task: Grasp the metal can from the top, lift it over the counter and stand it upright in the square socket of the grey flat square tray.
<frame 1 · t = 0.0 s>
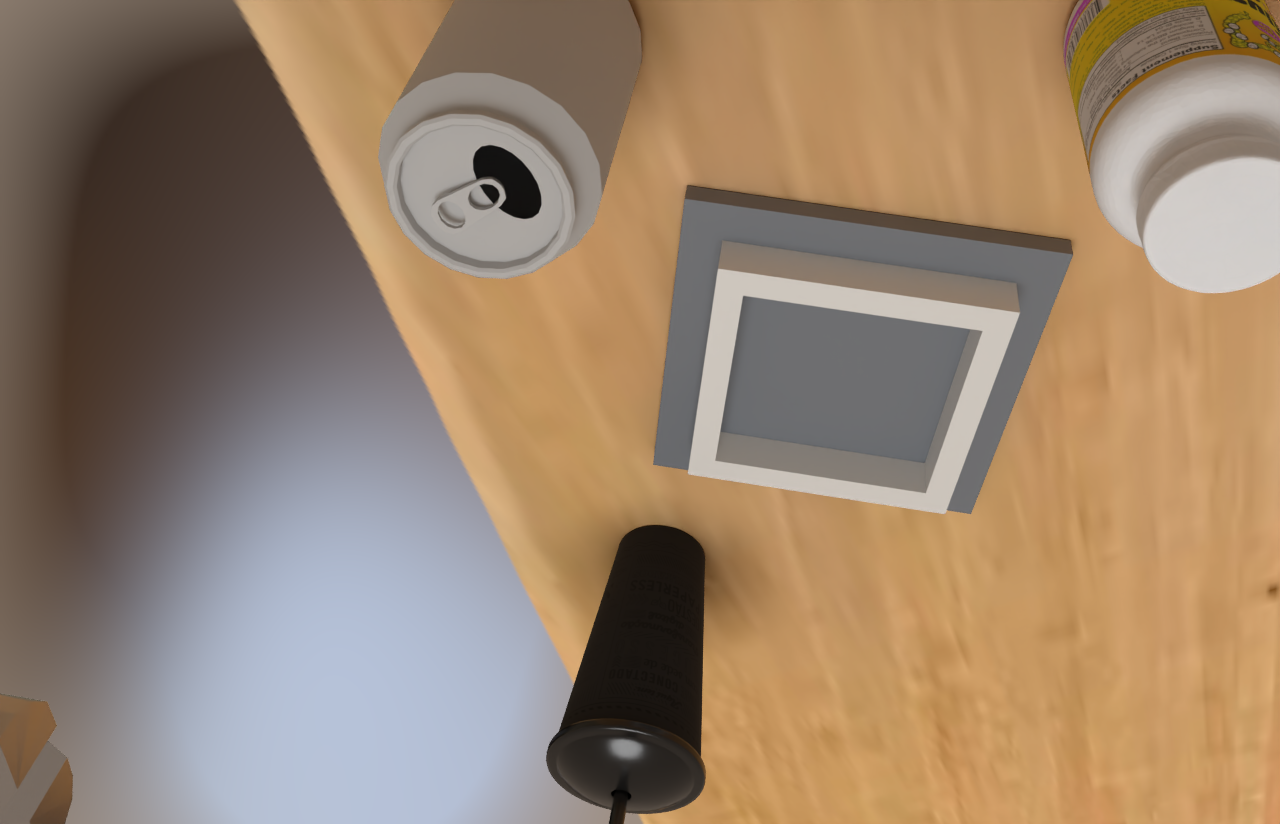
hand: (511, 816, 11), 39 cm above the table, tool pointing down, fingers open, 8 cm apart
grey flat square tray: (841, 356, 57), on the table
can: (551, 30, 48), on the table
drinking cup: (662, 550, 68), on the table
supplement bottle: (1156, 24, 44), on the table
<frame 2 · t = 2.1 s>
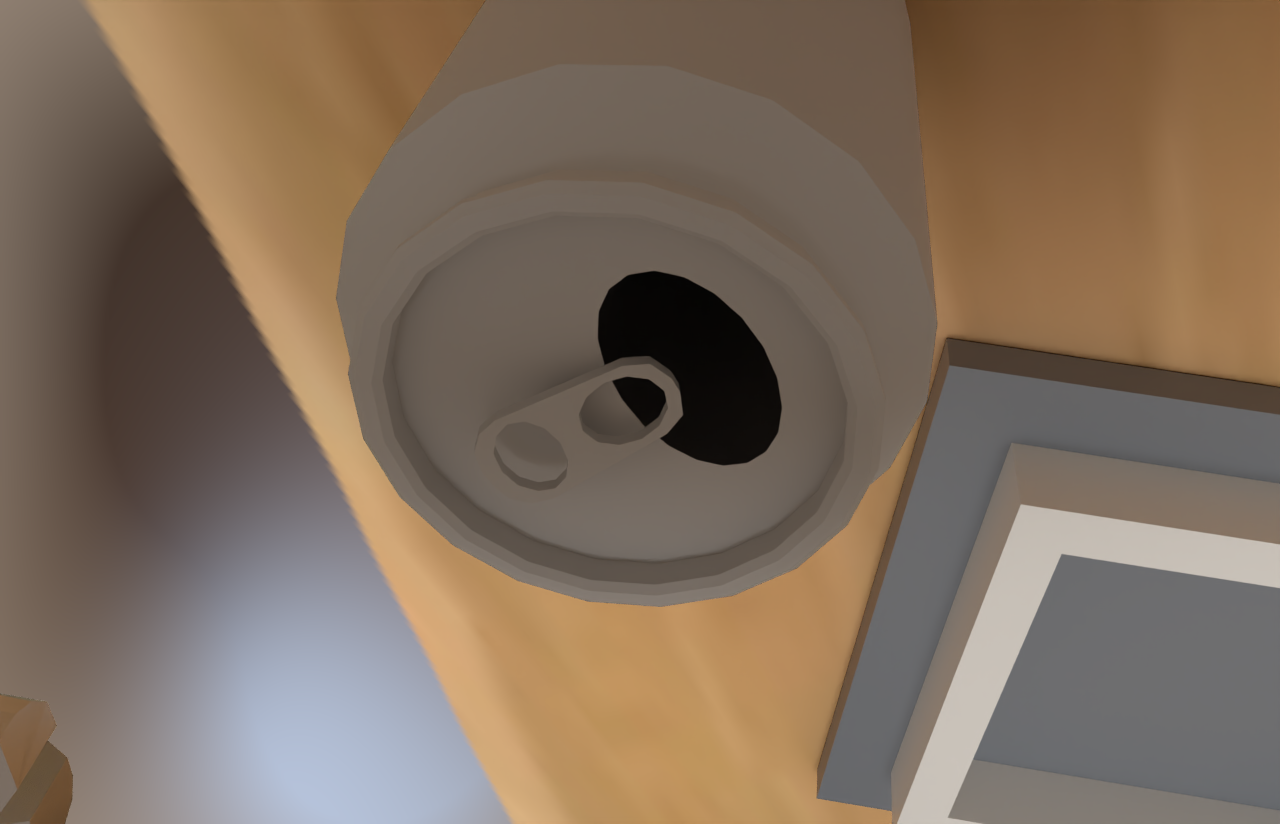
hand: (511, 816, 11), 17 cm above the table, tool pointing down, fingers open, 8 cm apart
grey flat square tray: (1184, 638, 31), on the table
can: (707, 30, 23), on the table
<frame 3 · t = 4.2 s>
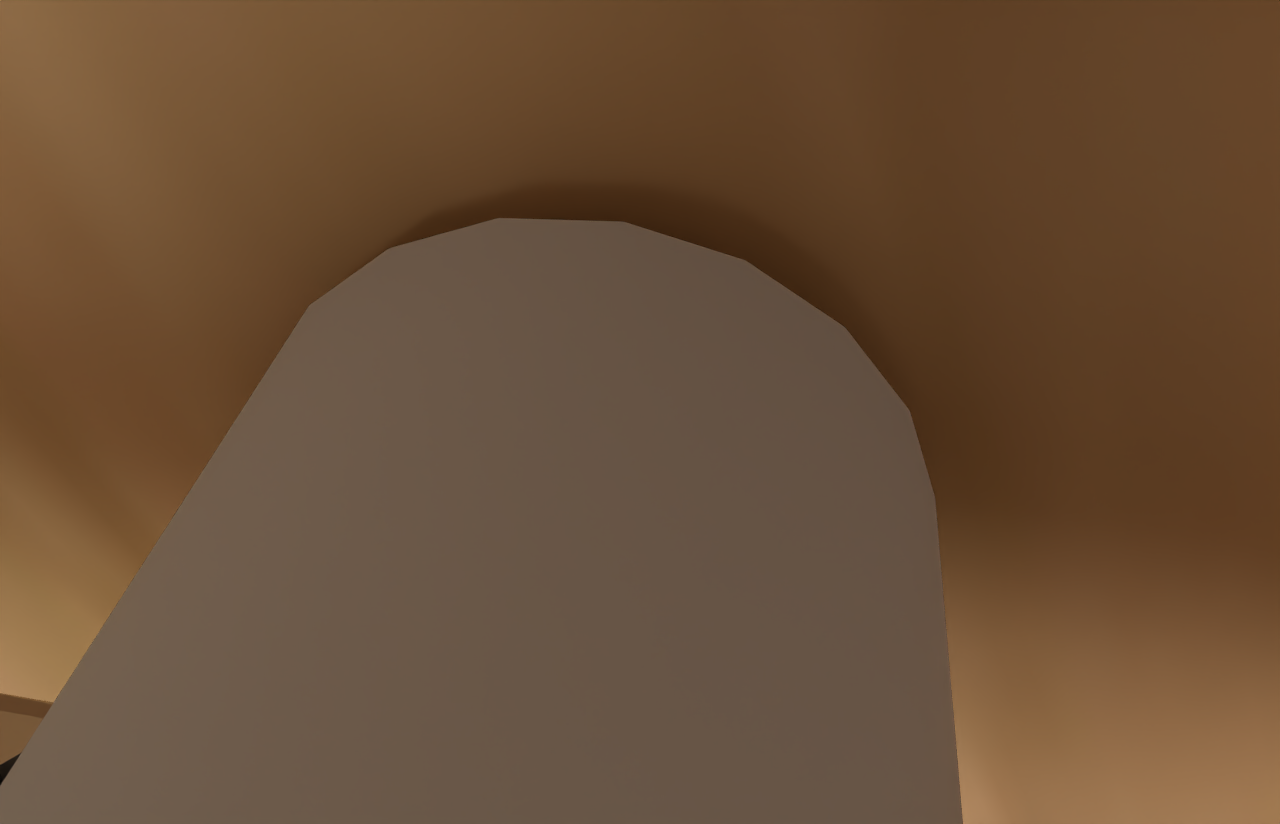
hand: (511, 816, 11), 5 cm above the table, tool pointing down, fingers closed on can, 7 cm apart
can: (602, 455, 14), on the table, touching gripper
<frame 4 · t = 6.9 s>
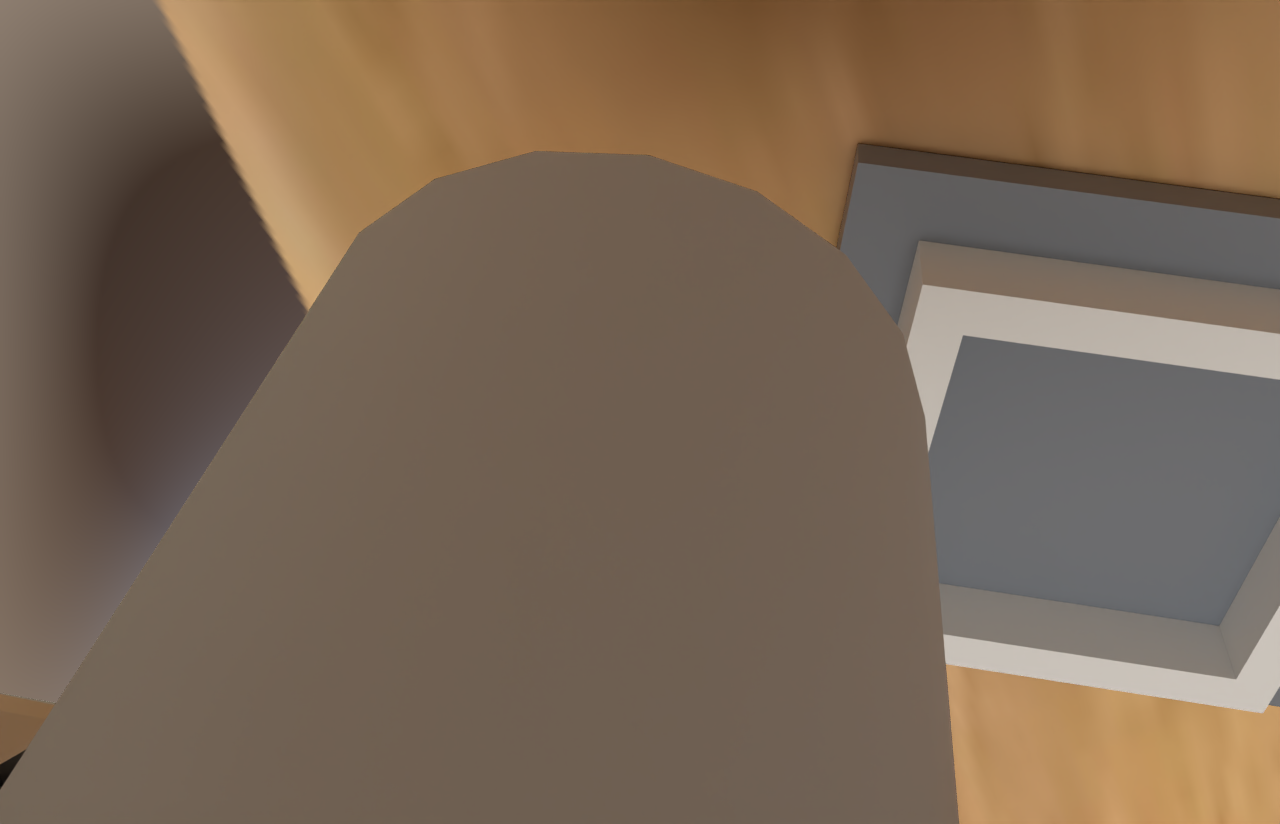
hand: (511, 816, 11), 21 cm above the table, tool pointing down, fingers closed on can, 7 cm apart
grey flat square tray: (1093, 448, 34), on the table
can: (619, 384, 16), point 15 cm above the table, touching gripper
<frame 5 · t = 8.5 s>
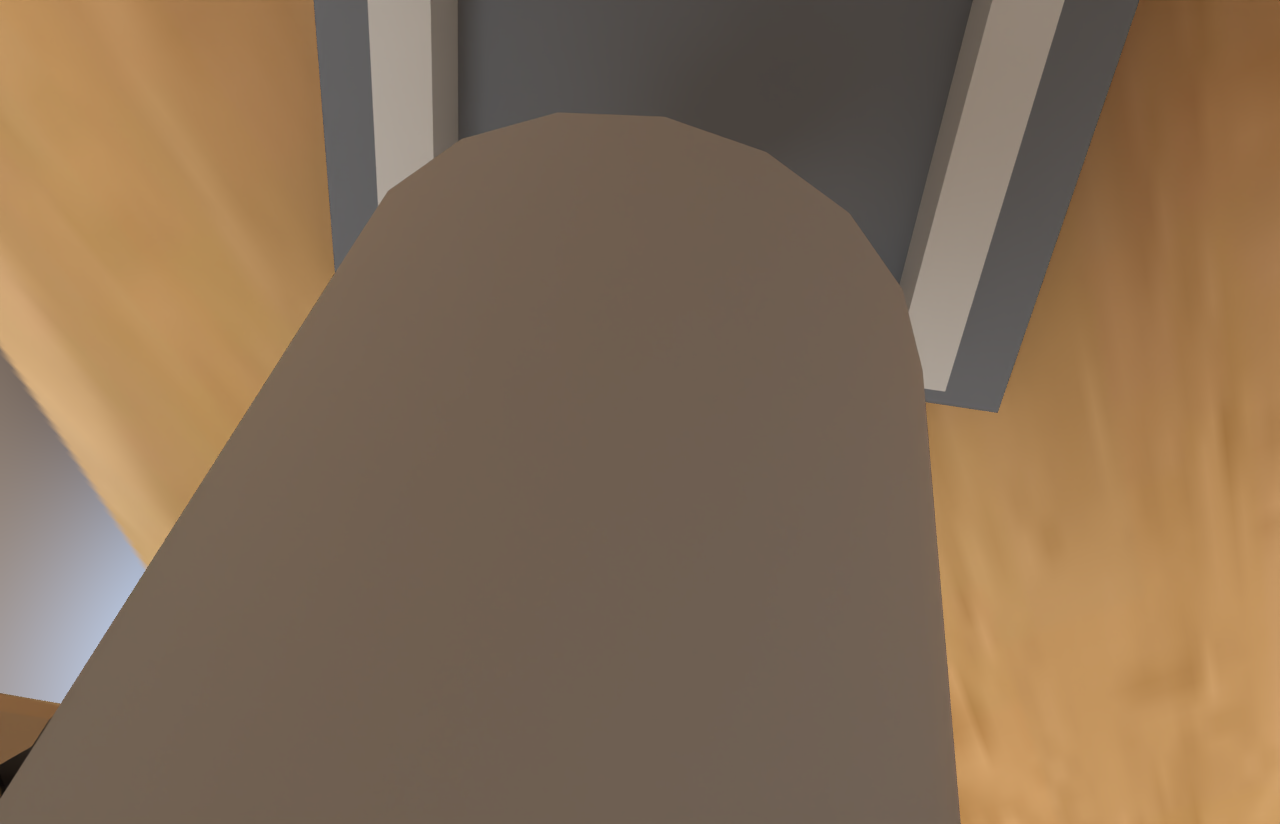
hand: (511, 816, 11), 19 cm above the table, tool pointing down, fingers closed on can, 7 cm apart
grey flat square tray: (707, 22, 25), on the table
can: (631, 341, 16), point 11 cm above the table, touching gripper
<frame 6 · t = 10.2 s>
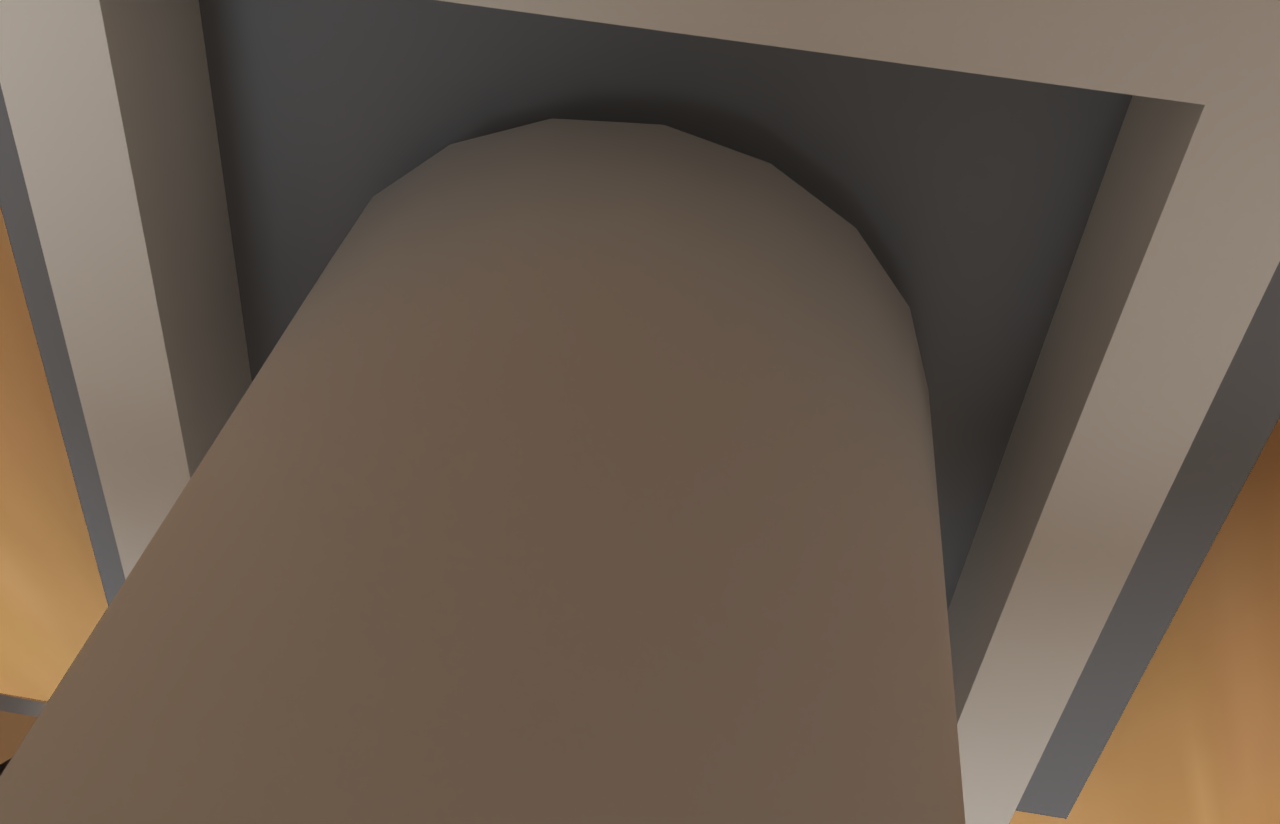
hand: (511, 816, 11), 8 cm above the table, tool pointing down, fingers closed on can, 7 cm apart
grey flat square tray: (633, 310, 16), on the table
can: (625, 353, 16), point 1 cm above the table, touching grey flat square tray, gripper
when the fingers open (7 cm above the table, at t = 11.3 s): can stays where it is, resting on grey flat square tray.
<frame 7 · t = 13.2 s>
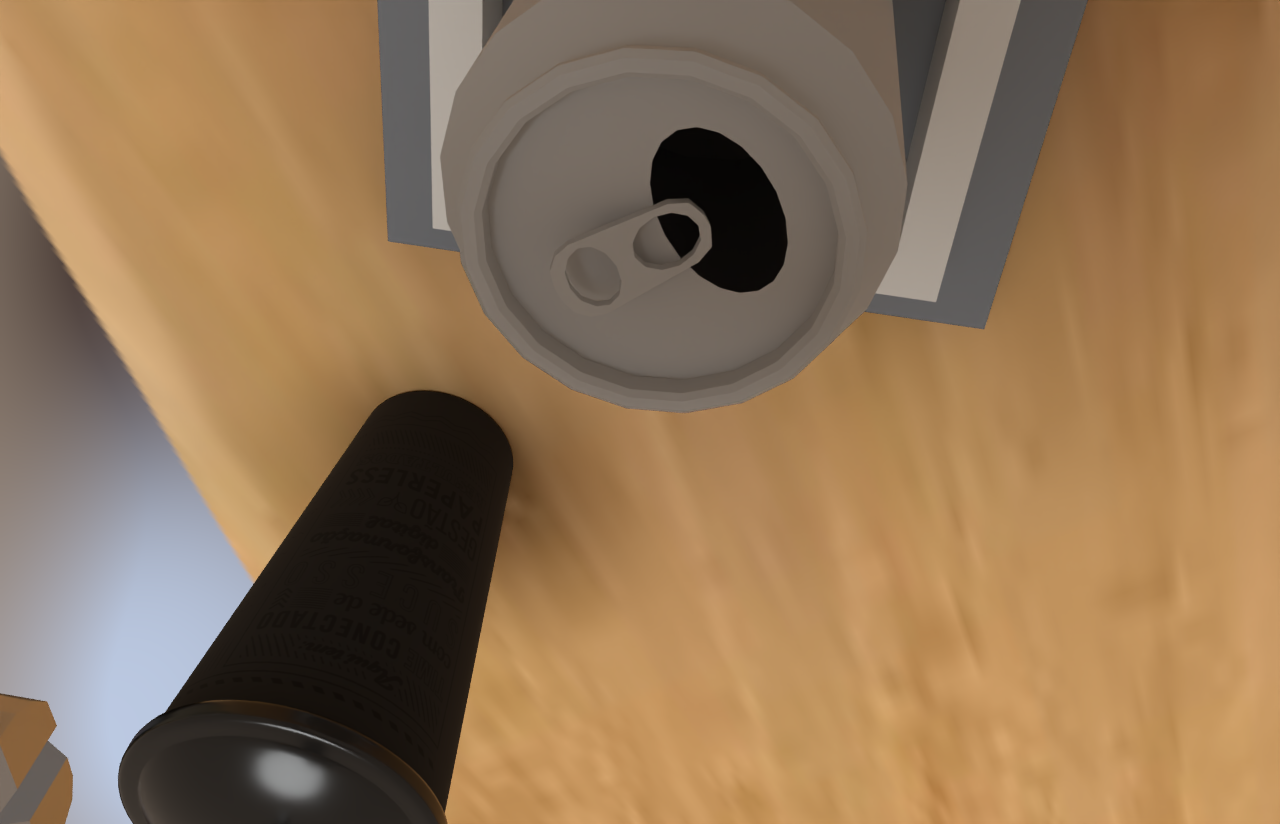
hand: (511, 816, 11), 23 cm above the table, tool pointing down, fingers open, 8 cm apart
drinking cup: (439, 446, 39), on the table
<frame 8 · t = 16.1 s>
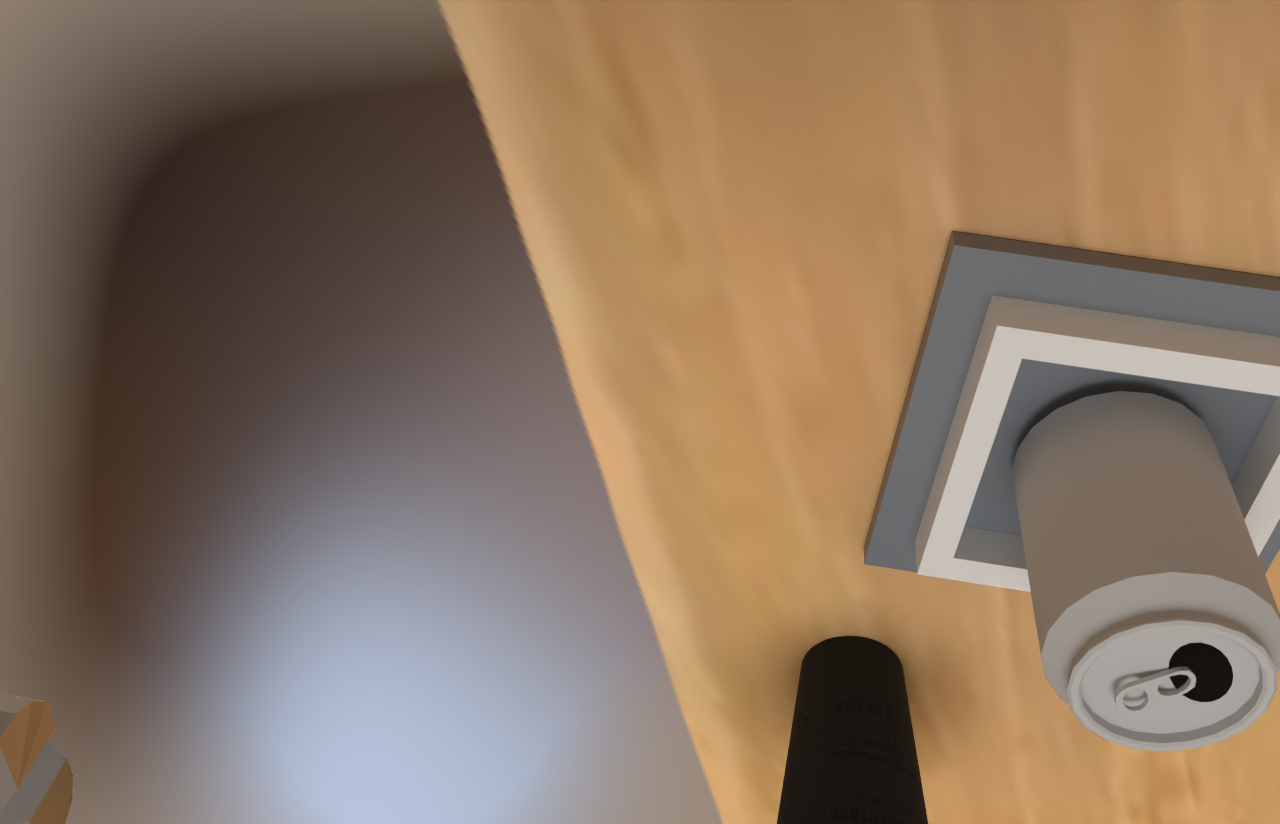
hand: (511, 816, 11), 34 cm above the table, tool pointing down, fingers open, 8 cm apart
grey flat square tray: (1105, 435, 49), on the table
can: (1107, 451, 48), point 1 cm above the table, touching grey flat square tray
drinking cup: (851, 666, 59), on the table
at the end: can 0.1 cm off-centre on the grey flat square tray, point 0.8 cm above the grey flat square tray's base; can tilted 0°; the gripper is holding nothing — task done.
